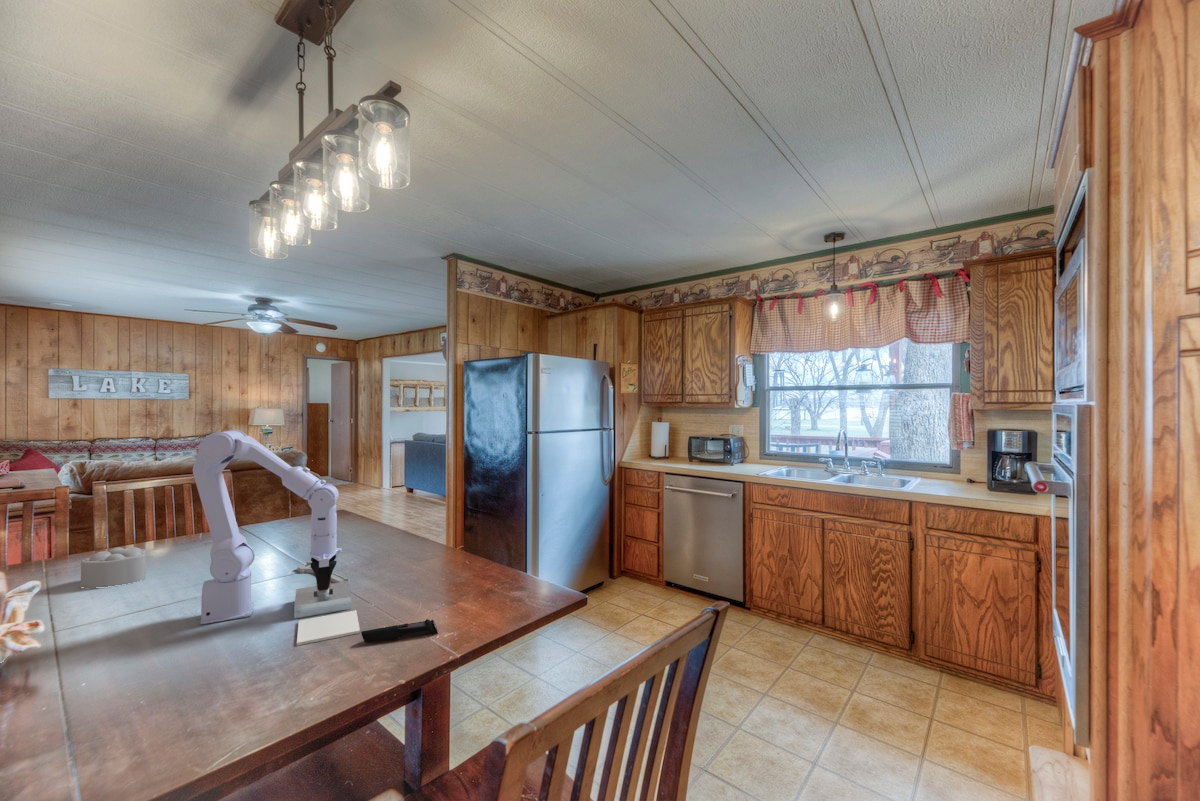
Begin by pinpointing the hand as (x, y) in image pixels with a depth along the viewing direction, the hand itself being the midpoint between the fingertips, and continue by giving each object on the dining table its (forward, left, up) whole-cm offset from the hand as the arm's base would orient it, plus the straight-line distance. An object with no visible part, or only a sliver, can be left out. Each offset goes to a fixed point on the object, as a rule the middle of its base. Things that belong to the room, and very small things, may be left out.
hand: (323, 587), depth 126 cm
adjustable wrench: (0, +24, -5) cm, 24 cm away
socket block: (0, 0, -4) cm, 4 cm away
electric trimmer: (+15, -27, -5) cm, 31 cm away
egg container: (-51, +45, -5) cm, 68 cm away
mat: (+1, -15, -4) cm, 16 cm away
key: (0, 0, -4) cm, 4 cm away
